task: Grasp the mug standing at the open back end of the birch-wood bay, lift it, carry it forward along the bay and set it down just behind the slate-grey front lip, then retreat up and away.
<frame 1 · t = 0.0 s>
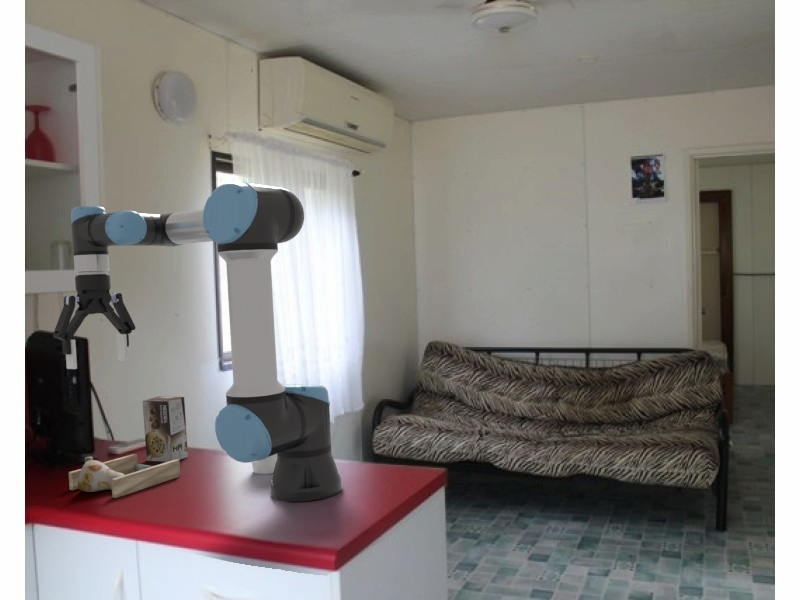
hand: (98, 365, 170), 28 cm above the worktop, fingers open, 13 cm apart
bay: (126, 482, 171), on the worktop
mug: (104, 491, 166), on the worktop
crank handle: (104, 475, 180), on the worktop
cup: (267, 471, 176), on the worktop
cookie box: (167, 459, 193), on the worktop
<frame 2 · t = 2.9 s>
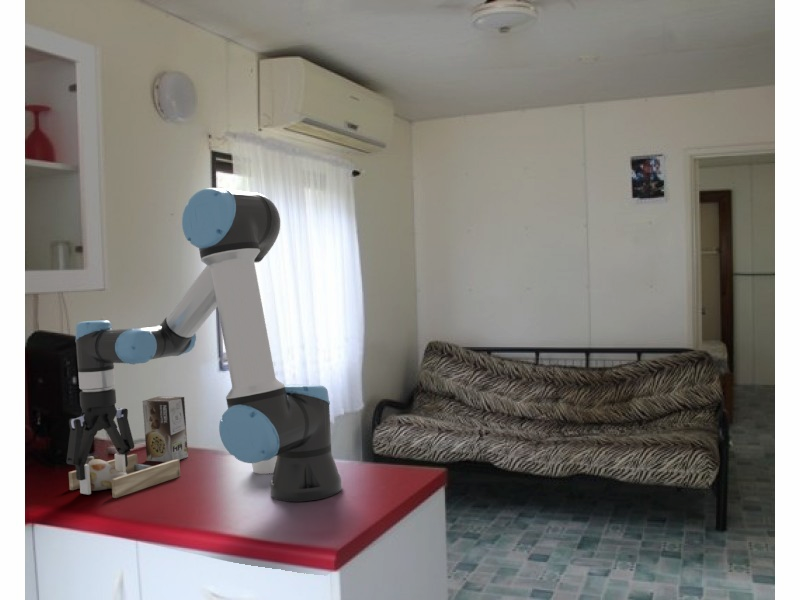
hand: (104, 487, 166), 1 cm above the worktop, fingers closed on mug, 9 cm apart
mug: (108, 490, 167), on the worktop, touching gripper
everything else where it was.
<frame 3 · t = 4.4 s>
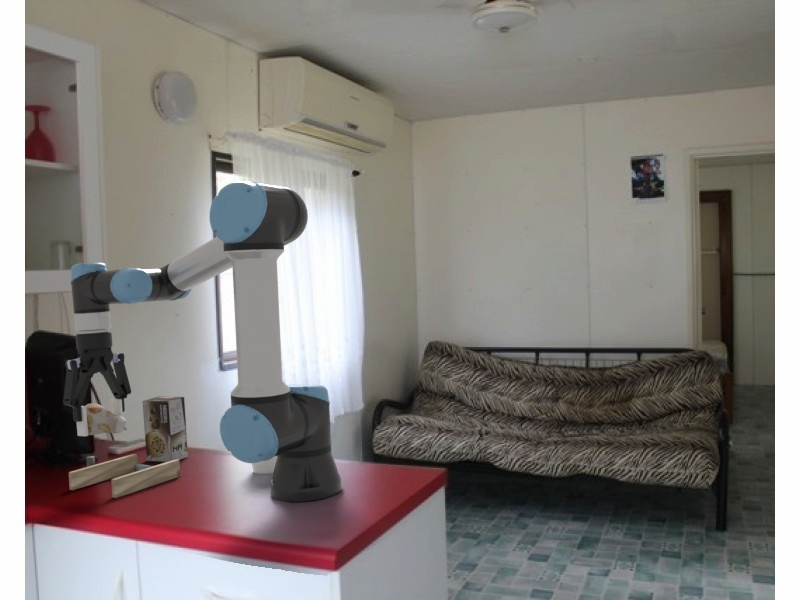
hand: (101, 431, 165), 13 cm above the worktop, fingers closed on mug, 9 cm apart
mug: (105, 434, 166), point 13 cm above the worktop, touching gripper
everything else where it was.
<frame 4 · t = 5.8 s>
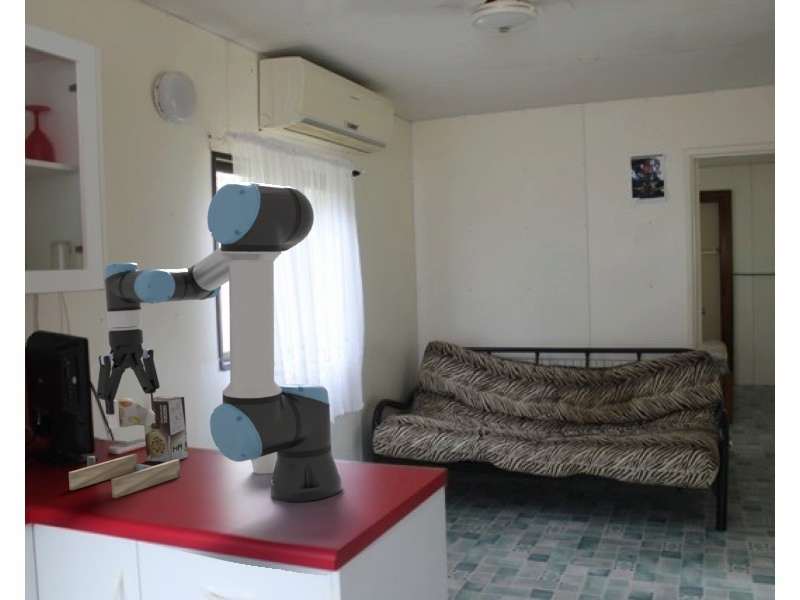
hand: (131, 423, 173), 13 cm above the worktop, fingers closed on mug, 9 cm apart
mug: (134, 427, 173), point 12 cm above the worktop, touching gripper
everything else where it was.
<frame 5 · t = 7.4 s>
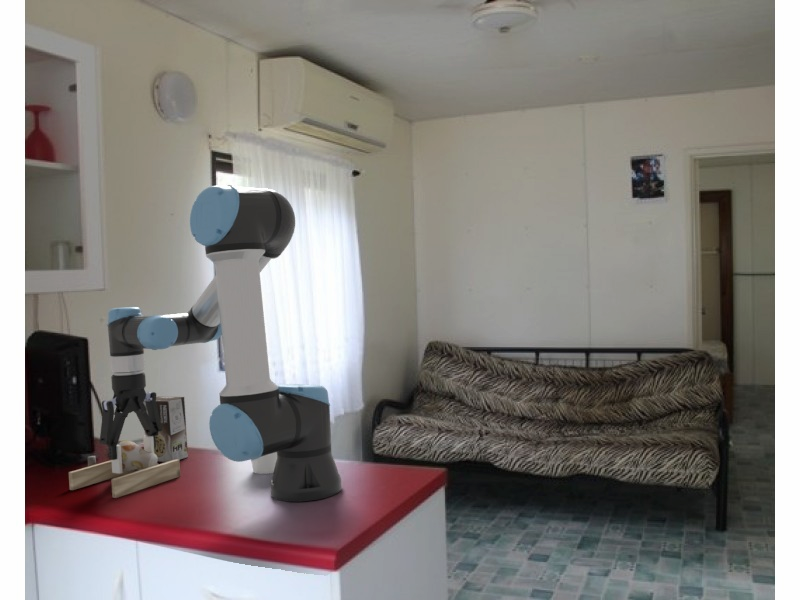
hand: (134, 467, 173), 3 cm above the worktop, fingers closed on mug, 9 cm apart
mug: (137, 470, 174), point 2 cm above the worktop, touching gripper
everything else where it was.
when the fingers open (2 cm above the worktop, at t = 8.6 s): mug stays where it is, resting on bay.
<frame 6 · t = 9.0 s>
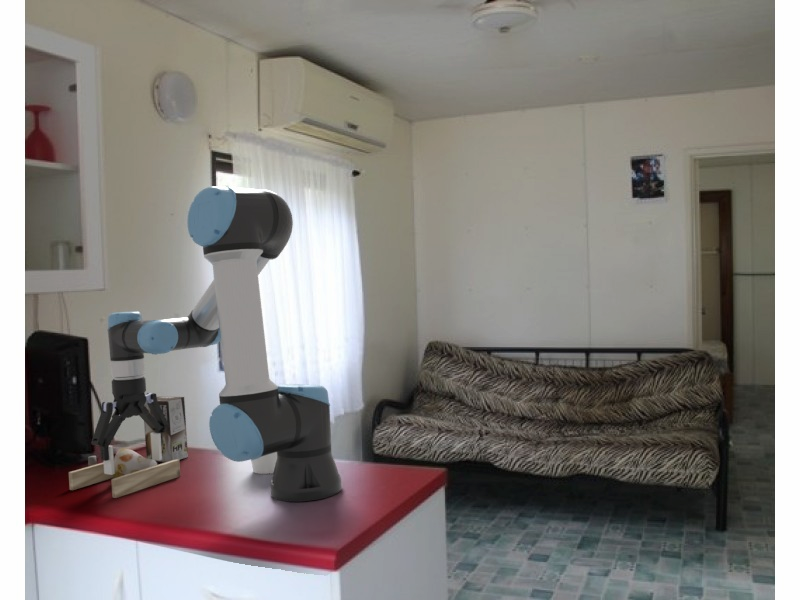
hand: (134, 466, 173), 3 cm above the worktop, fingers open, 13 cm apart
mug: (138, 476, 174), point 1 cm above the worktop, touching bay
everything else where it was.
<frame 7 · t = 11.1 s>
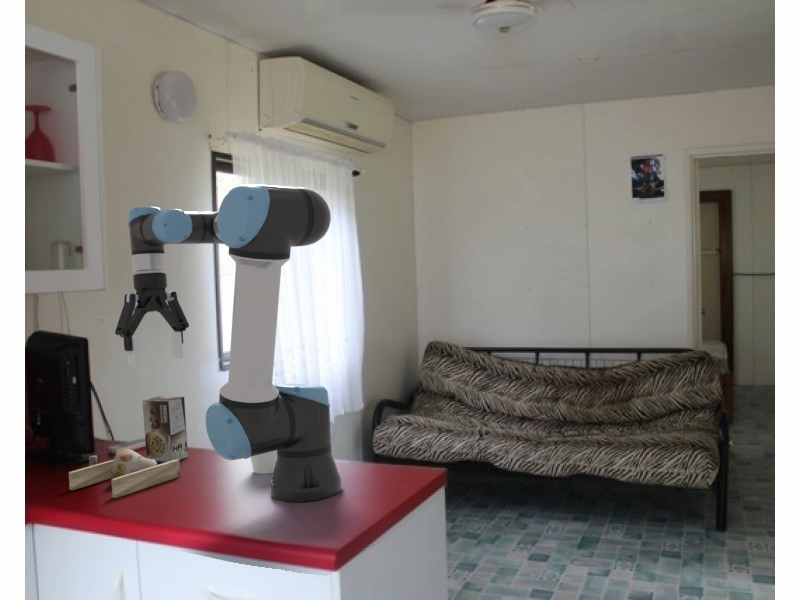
hand: (156, 361, 174), 28 cm above the worktop, fingers open, 13 cm apart
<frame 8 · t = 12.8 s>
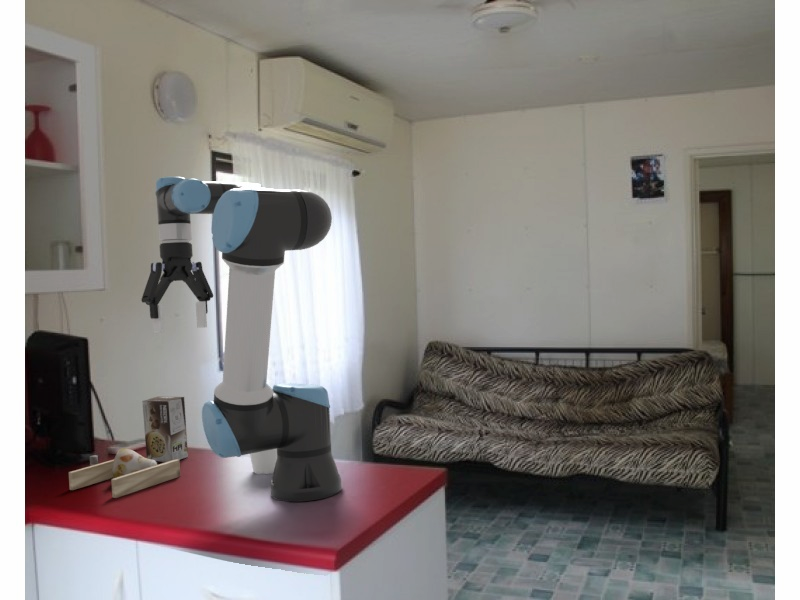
hand: (180, 330, 177), 35 cm above the worktop, fingers open, 13 cm apart
at the end: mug inside the target area (0.8 cm from its centre), point 0.5 cm above the worktop; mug touching bay, worktop; the gripper is holding nothing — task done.
